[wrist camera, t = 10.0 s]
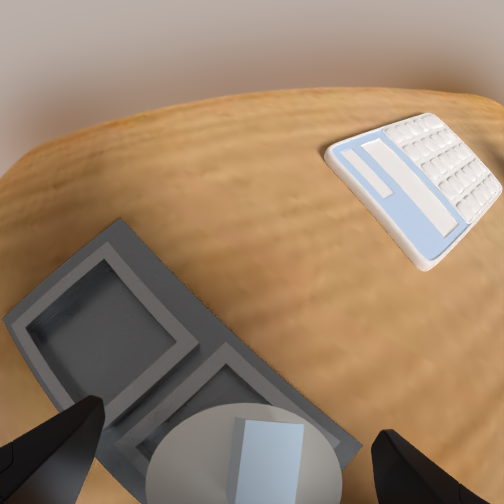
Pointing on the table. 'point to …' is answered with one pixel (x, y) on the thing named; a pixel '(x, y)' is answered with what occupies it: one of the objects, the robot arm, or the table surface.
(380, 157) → the calculator
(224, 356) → the panel
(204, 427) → the plug
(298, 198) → the table surface
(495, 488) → the table surface
